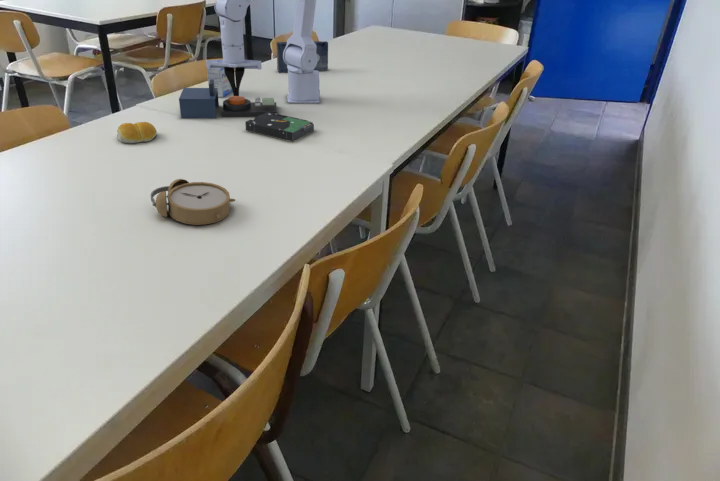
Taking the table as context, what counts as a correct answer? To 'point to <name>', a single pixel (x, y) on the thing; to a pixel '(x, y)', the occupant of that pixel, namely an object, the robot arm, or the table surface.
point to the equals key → (236, 100)
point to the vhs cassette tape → (320, 51)
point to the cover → (199, 102)
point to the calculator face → (264, 101)
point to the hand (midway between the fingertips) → (236, 95)
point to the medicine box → (219, 81)
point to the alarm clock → (193, 202)
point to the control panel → (246, 109)
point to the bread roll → (136, 132)
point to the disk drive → (280, 126)
